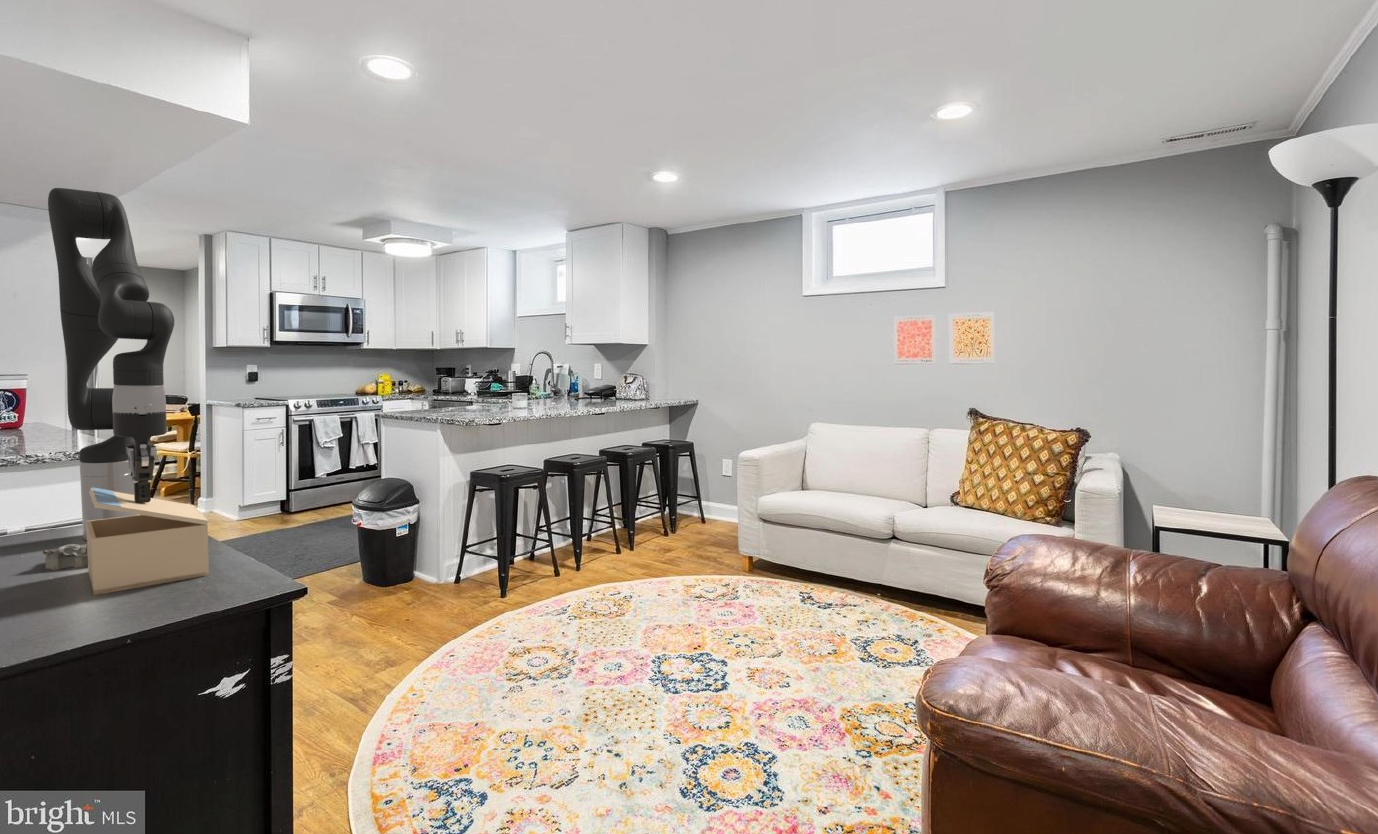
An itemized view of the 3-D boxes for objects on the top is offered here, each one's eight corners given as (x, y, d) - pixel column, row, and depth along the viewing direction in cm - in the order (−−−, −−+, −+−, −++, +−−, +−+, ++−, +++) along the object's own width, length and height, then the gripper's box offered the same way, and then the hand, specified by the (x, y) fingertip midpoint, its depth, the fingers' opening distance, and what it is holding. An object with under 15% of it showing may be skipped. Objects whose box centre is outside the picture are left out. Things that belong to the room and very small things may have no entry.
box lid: (89, 491, 120) (91, 487, 120) (191, 508, 131) (193, 504, 132) (94, 507, 109) (97, 502, 109) (206, 524, 120) (208, 520, 120)
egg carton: (39, 572, 120) (38, 551, 120) (58, 561, 127) (57, 540, 127) (112, 566, 125) (111, 545, 124) (126, 555, 132) (125, 535, 131)
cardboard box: (88, 571, 121) (86, 520, 120) (194, 555, 132) (192, 509, 131) (93, 595, 110) (91, 539, 109) (209, 575, 121) (207, 524, 120)
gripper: (109, 407, 120) (112, 499, 121) (115, 412, 111) (119, 511, 112) (161, 407, 125) (163, 494, 126) (171, 411, 116) (173, 505, 117)
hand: (142, 502), depth 119 cm, fingers closed
